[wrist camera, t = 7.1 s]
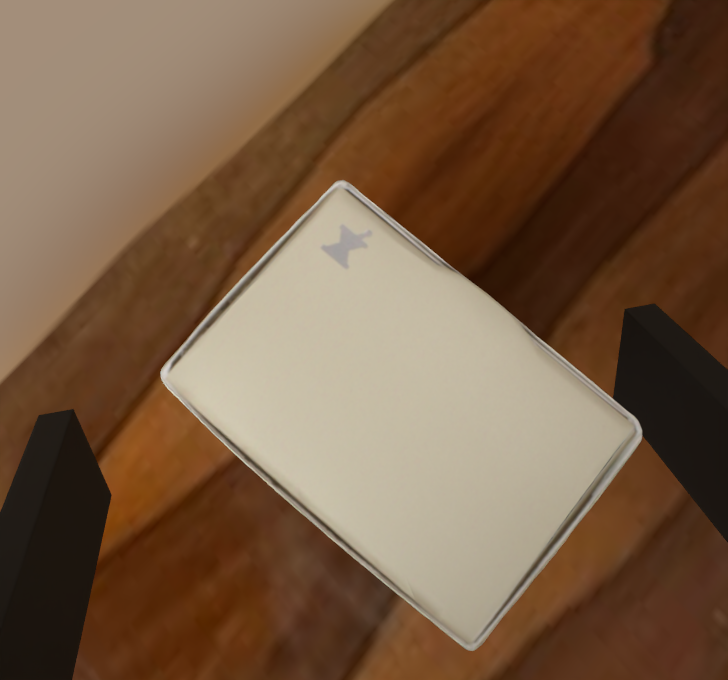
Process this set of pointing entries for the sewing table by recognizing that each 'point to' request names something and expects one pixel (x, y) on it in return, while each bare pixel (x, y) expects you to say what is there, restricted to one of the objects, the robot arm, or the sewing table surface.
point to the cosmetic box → (403, 412)
